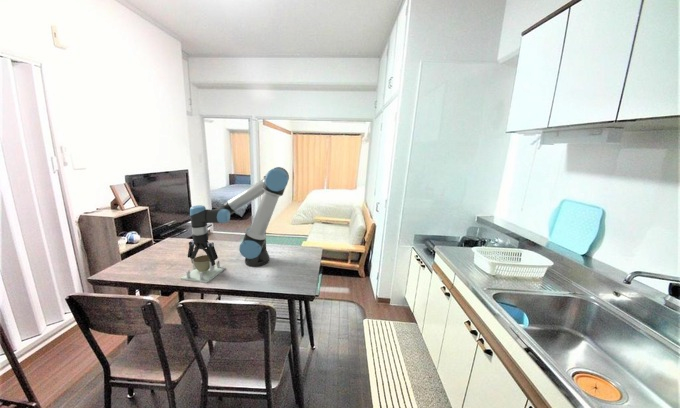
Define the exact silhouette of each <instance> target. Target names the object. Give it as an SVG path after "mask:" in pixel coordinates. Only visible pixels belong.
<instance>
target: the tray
mask: <svg viewBox="0 0 680 408" xmlns="http://www.w3.org/2000/svg"><path fill="white" fill-rule="evenodd" d="M214 268H215V270H213V271H212V272H210V268H209V270H208V271H205V272H199V271H198V270H197V269H195V270H193V269H192V270H191V271H190V270H186V271H185V272H186V274H185V275H183V276H182V277H180V280H181V281H182V280H184V281H190V282H199V283H200V282H201V283H207V284H208V283H209V282H210V281H211V280H213V279H214V278H215V277H216V276H218V275H220V274H221V273H222V272H223V271H224V270H226V267H225V266H220V260H215V265H214Z"/></svg>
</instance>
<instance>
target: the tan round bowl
mask: <svg viewBox="0 0 680 408" xmlns="http://www.w3.org/2000/svg"><path fill="white" fill-rule="evenodd" d="M209 261H210V259H209V257H208V256H207V254H202V255H199V256H196V258H194V259H193V264H194V266H195V267H196V269H197V270H198V271H199V272H205V271H208V270H209V268H210V264H209ZM193 264H192V265H193Z"/></svg>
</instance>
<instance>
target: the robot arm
mask: <svg viewBox="0 0 680 408" xmlns="http://www.w3.org/2000/svg"><path fill="white" fill-rule="evenodd" d="M289 175H290V174H289V172H288V171H287V170H286V169H285V168H284V167H281V166H277V167H274V168H272V169H270V170H269V171H268V172H267V173H266V174H265V175H264V176H263V178H262V179H260V180H259V181H258V182H256V183H255V184H252V186H250V187H248V188H247V189H245V190H243V191H241V192H240V193H239V194H237V195H236V196H234V197H233V198H230V199H229V200H228V201H226V202H224V203H223V204H220V206H219V207H217V208H215V209H207V208H206V206H205V205H203V204H202V205H200V204H199V205H193V206H191V207H190V208H189V218H190V223H191V234H192V235H191V236H192V240H191V241H188V249H187V250H188V251H187V258H190V260H191V264H192V268H193V269H192V270H195V269H196V267H195V266H194V264H193V259H194V258H196V257H197V254H198V253H199V250H202V251H203V252H205V255H207V256H208V257H209V259H210V261H209V264H210V272H212V271H213V270H215V268H214V266H216V261H217V259H218V258H219V257H218V254H217V252H216V248H215V243H214V242H209V232H208V229H209V228H208V224H225V223H226V224H227V223H229V222H230V219H231V215H233V214H234V213H235V212H237V211H239V210H240V209H241V208H243V207H245V206H246V205H248V204H249V203H251V202H252V201H254V200H256V199H257V198H259V197H261V198H260V201H259V204H258V207H257V210H256V212H255V214H254V218H253V220H252V223H251V226H250V227H248V228H246V230H245V234H244V236H243V239H242V241H241V243H240V244H239V250H238V251H239V254H240V255H241V256H242V257H243V258H244V264H245V265H246V266H248V267H253V268H254V267H261V266H265V265H267V264H268V263H269V262H270V255H269V253H268V251H267V228H268V226H269V224H270V221H271V219H272V215H273V214H274V212H275V208H276V206H277V203H278V201H279V198H280V197H281V196H283V195H284V193H285V190H286V187H287V186H288V182H289V179H290V176H289Z"/></svg>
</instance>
